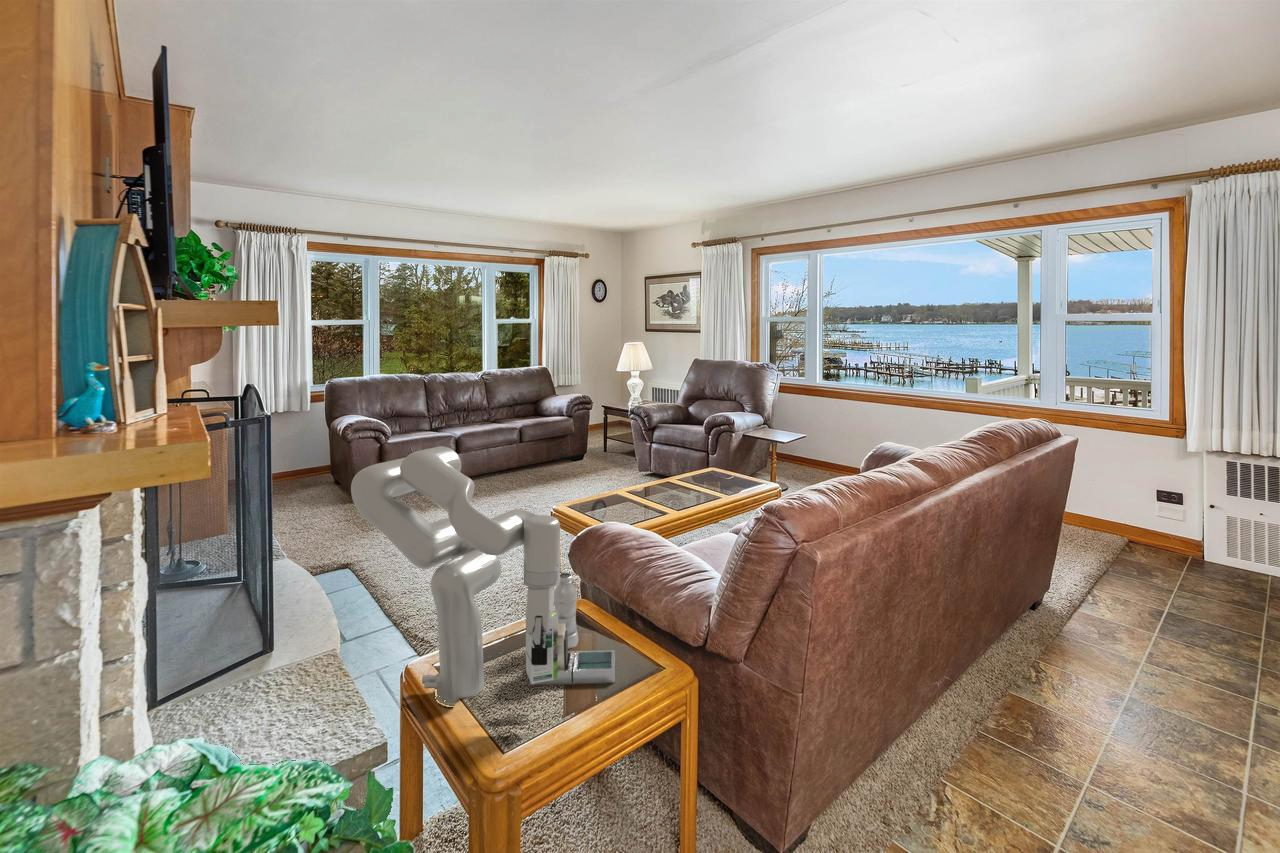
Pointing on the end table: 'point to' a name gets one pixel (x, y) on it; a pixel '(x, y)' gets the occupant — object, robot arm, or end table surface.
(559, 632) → the beige curved-top block
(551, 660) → the syrup box
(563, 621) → the plastic bottle
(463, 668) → the robot arm
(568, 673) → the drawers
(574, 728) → the end table surface
